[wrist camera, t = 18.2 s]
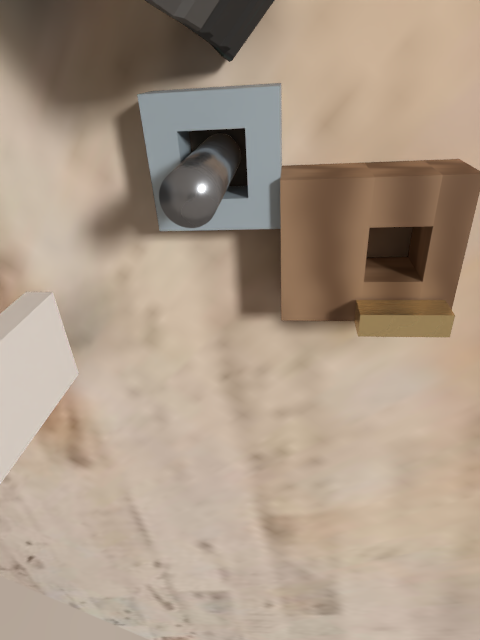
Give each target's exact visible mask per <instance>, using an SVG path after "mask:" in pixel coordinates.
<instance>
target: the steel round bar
mask: <svg viewBox="0 0 480 640" xmlns="http://www.w3.org/2000/svg"><path fill="white" fill-rule="evenodd" d="M240 161H241V151H240V148H239V145H238V143H237V142H236V141H235V140H234V139H233V138H232V137H231V136H229V135H226V134H222V133H218V134H214V135H211V136H210V137H208V138H207V139H206V140H205V141H204V142H203V143H202V144H201V145H200V146H199V147H197V148H196V149H195V150H194V151H193V152H192V153H191V154H190V155H189V156H188V157H187V158H186V159H185V160H183V161H182V162H181V163H180V164H179V165H178V166H177V167H176V168H175V169H174V170H173V171H172V172H171V173H170V174H168V175H167V176H166V178H165V179H164V180H163V182H162V184H161V186H160V190H159V201H160V205H161V208H162V210H163V212H164V213H165V215H166V216H167V217H168V218H169V219H170V220H171V221H172V222H173V223H175V224H177V225H179V226H181V227H185V228H197V227H201V226H203V225H205V224H206V223H208V222H209V221H210V220H211V219H212V218H213V216H214V214H215V212H216V210H217V208H218V206H219V204H220V202H221V200H222V198H223V196H224V194H225V192H226V190H227V188H228V186H229V184H230V182H231V180H232V178H233V176H234V174H235V172H236V170H237V168H238V166H239V164H240Z"/></svg>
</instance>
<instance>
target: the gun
mask: <svg viewBox="0 0 480 640" xmlns="http://www.w3.org/2000/svg"><path fill="white" fill-rule="evenodd" d="M145 1H147V2H148V3H150V4H151V5H153V6H154V7H156V8H157V9H159V10H161V11H162V12H164V13H166V14H167V15H169V16H171V17H172V18H174V19H176V20H177V21H179V22H180V23H182V24H183V25H185V26H186V27H188V28H189V29H191V30H192V31H193V32H195V33H196V34H198V35H199V36H200V37H202V38H203V39H205V40H206V41H208V42H209V43H210V44H211V45H212V46H213V47H214V48H215V49H216V50H217V51H218V52H219V54H220V55H221V56H222V57H223V58H225V59H226V60H228V61H229V62H230V61H232V60H233V58H234V57H235V56H236V54H237V53H238V51H239V50H240V48H241V47H242V46H243V44H244V43H245V41H246V40H247V38H248V37H249V36H250V34H251V33H252V31H253V30H254V29H255V27H256V26H257V24H258V23H259V21H260V20H261V19H262V17H263V16H264V14H265V13H266V11H267V10H268V9H269V7H270V6H271V4H272V3H273V1H274V0H145Z"/></svg>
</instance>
